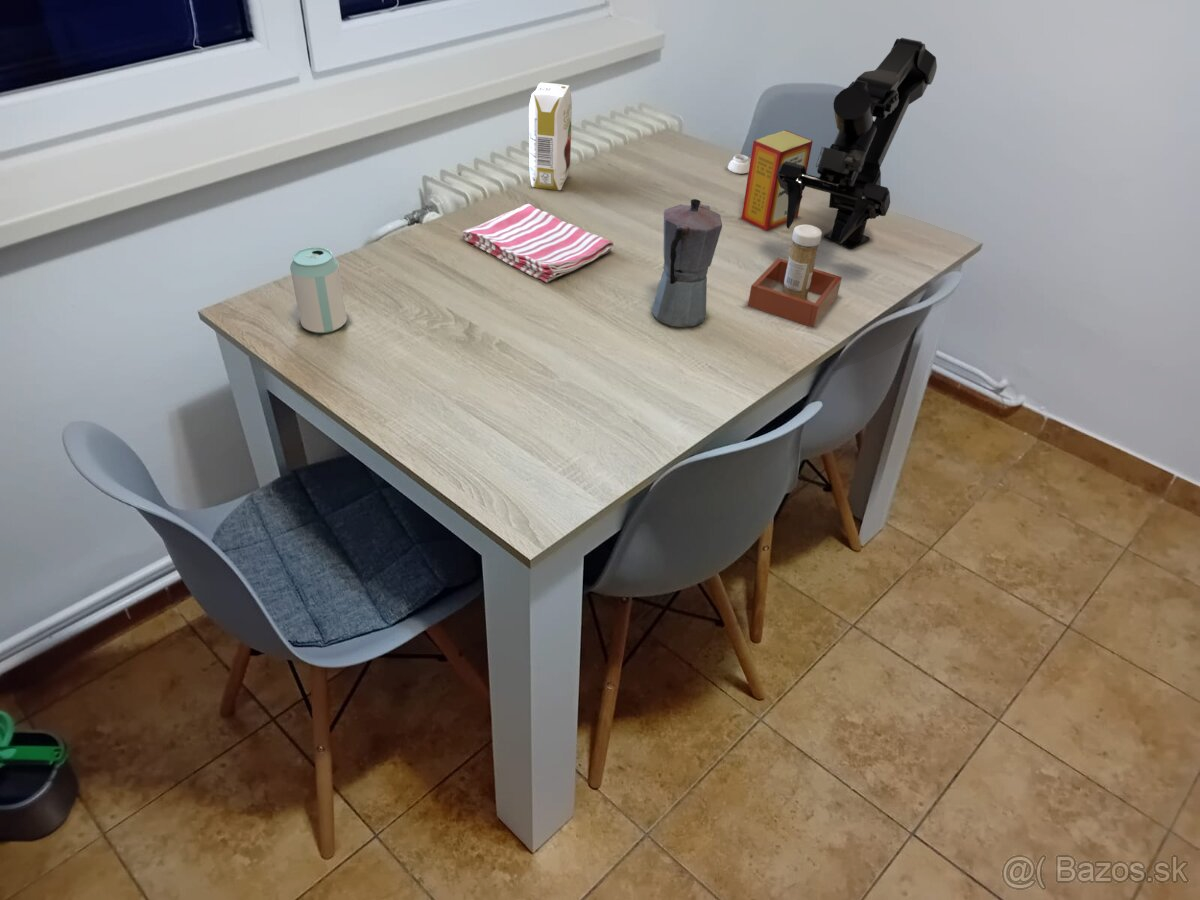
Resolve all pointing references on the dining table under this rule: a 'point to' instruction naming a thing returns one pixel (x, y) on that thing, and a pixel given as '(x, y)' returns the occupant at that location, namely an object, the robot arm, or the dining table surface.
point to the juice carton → (550, 135)
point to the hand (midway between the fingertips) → (813, 235)
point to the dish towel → (537, 242)
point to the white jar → (739, 164)
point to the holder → (789, 304)
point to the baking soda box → (772, 178)
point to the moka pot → (686, 263)
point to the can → (318, 290)
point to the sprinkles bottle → (801, 260)
